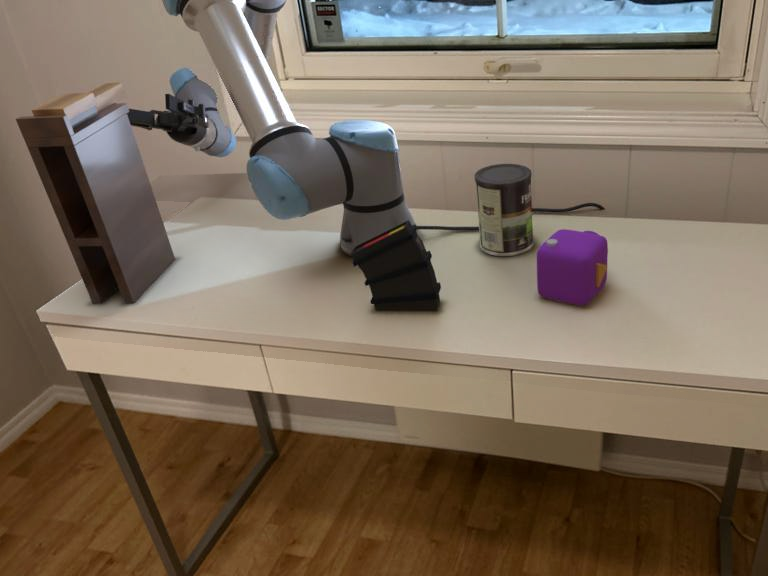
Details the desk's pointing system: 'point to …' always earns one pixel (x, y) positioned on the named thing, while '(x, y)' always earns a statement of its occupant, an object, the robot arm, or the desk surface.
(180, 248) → the desk surface
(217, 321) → the desk surface
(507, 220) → the coffee can
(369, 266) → the magazine
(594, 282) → the toy camera
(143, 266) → the shelf
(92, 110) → the tan block
